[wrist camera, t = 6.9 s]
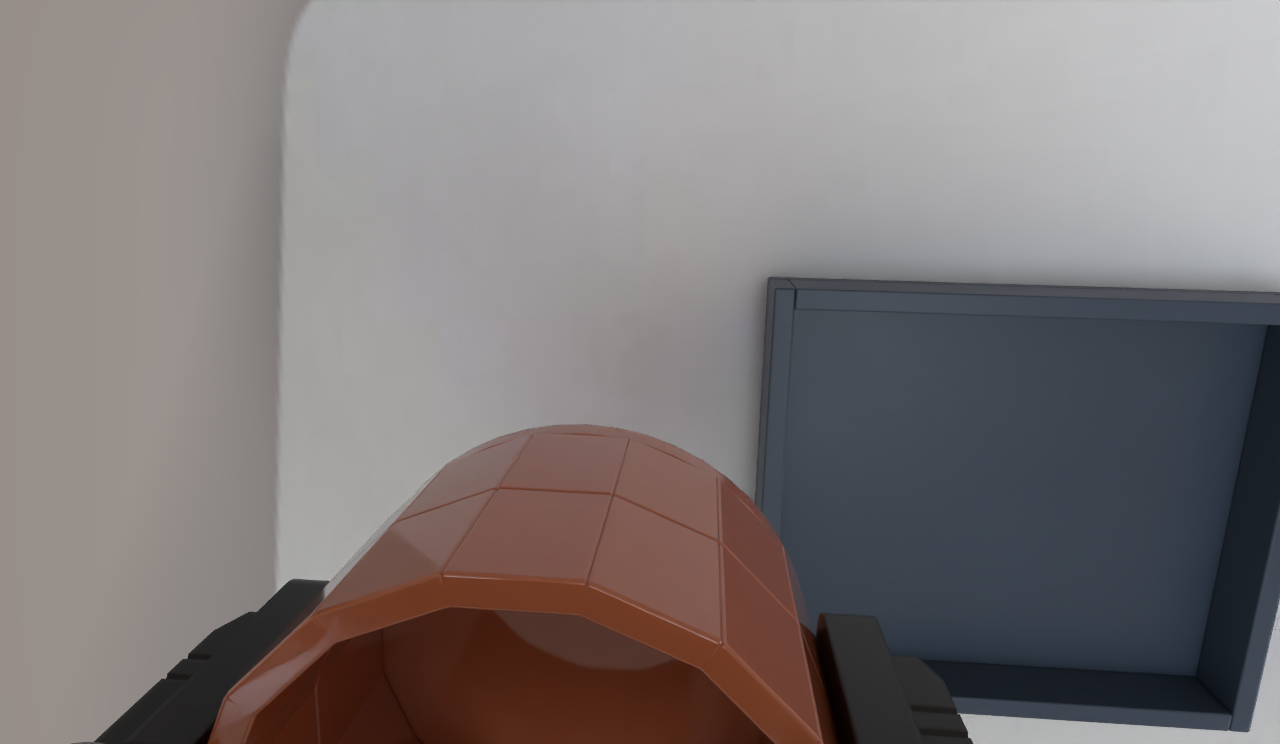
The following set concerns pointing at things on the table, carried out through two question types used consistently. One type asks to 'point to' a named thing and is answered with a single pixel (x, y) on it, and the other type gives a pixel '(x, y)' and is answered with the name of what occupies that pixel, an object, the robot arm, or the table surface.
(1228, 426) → the tray
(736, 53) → the table surface
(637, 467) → the big bowl
